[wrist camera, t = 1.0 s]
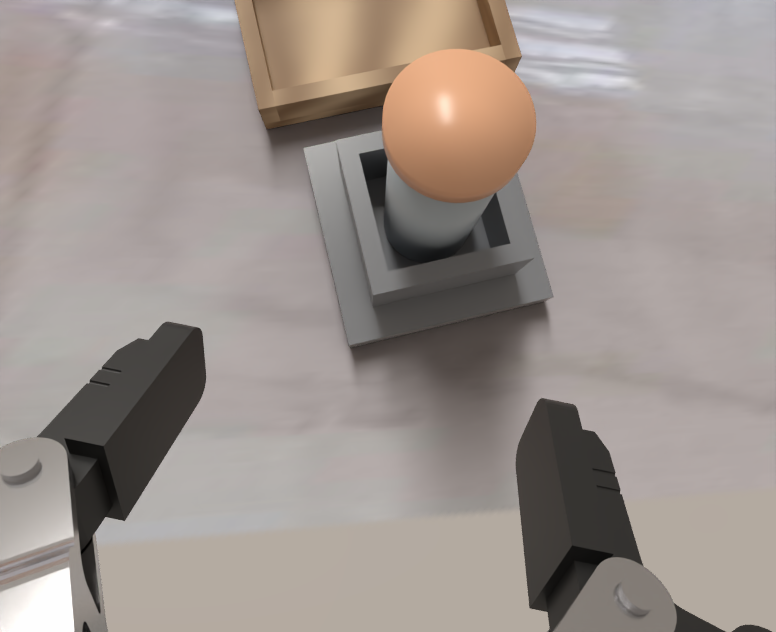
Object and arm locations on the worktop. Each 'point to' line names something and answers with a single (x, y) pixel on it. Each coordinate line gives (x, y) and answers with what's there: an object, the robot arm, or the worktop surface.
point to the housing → (407, 277)
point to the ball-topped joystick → (450, 147)
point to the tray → (356, 48)
